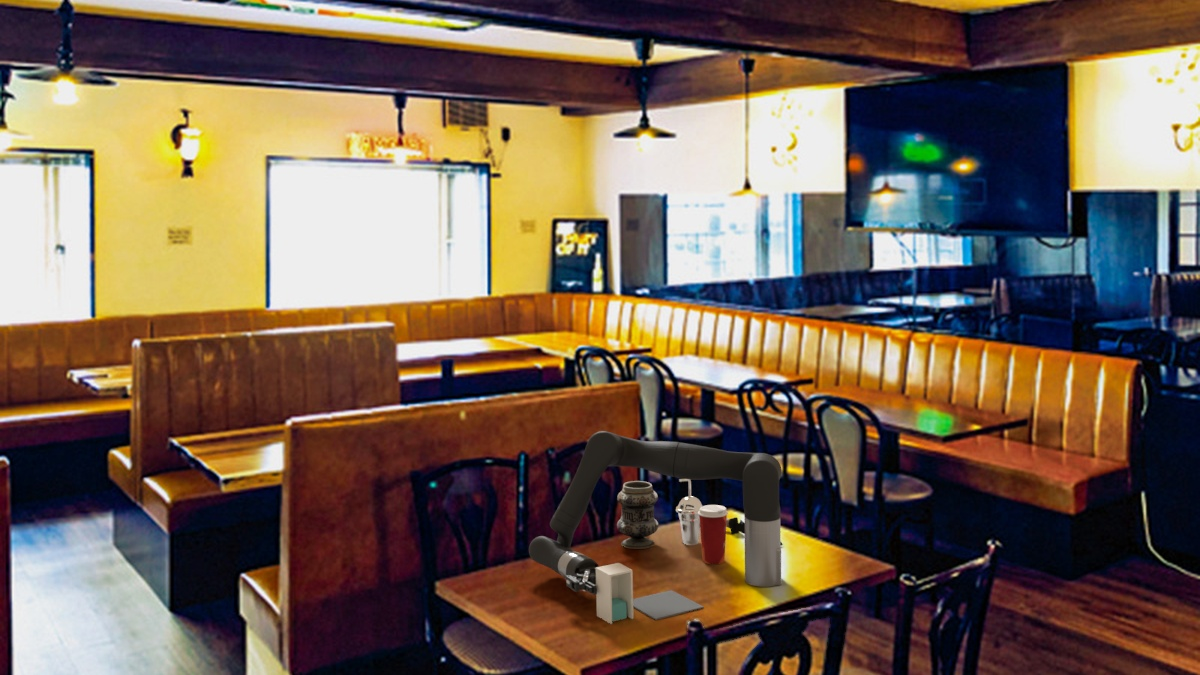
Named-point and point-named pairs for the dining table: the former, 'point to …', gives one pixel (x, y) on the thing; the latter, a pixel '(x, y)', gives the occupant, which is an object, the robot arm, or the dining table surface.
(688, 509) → the cup with straw
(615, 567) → the cream rectangular box
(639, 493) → the apothecary jar
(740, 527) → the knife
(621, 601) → the block
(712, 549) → the coffee cup
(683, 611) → the mat
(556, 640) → the dining table surface
